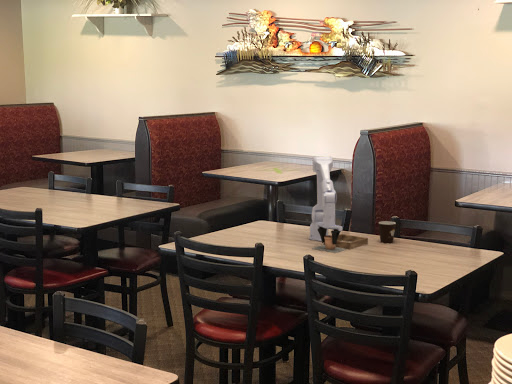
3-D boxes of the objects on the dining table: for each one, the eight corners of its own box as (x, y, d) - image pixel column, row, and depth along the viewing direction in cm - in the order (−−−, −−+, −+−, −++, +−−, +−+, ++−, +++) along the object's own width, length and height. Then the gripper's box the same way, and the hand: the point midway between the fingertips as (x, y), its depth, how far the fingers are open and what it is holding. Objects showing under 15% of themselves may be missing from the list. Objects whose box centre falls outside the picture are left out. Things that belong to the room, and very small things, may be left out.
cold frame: (323, 244, 344) (323, 238, 344) (341, 239, 356) (341, 233, 356) (350, 249, 334) (350, 243, 333) (367, 243, 346) (367, 237, 345)
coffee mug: (382, 244, 344) (383, 224, 343) (375, 240, 352) (375, 221, 351) (403, 242, 347) (404, 223, 346) (395, 239, 355) (396, 220, 354)
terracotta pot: (322, 248, 335) (321, 236, 334) (329, 246, 339) (328, 234, 338) (331, 250, 331) (331, 238, 330) (338, 247, 335) (337, 235, 334)
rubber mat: (312, 248, 336) (312, 248, 336) (322, 245, 342) (322, 245, 342) (335, 252, 326) (335, 252, 326) (346, 249, 333) (346, 249, 333)
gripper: (312, 215, 334) (312, 242, 336) (336, 218, 324) (336, 246, 326) (320, 213, 339) (320, 240, 341) (345, 216, 329) (344, 244, 331)
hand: (329, 243), depth 334 cm, fingers open, 6 cm apart
